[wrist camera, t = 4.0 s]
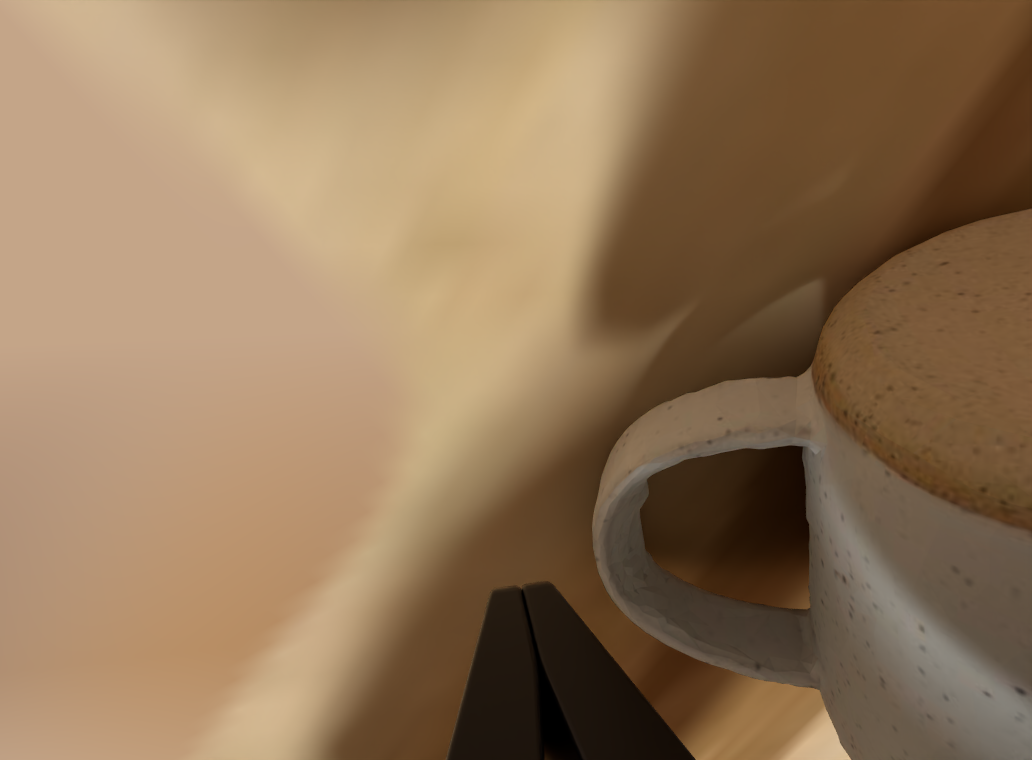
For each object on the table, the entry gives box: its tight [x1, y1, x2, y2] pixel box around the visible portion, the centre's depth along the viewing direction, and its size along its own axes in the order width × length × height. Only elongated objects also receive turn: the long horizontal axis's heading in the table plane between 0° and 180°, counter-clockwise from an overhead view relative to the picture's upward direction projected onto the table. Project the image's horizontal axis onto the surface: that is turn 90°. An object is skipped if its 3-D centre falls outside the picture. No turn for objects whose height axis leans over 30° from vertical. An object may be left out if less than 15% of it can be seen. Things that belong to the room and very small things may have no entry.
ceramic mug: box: [592, 208, 1032, 760], centre depth 9 cm, size 11×8×8 cm
